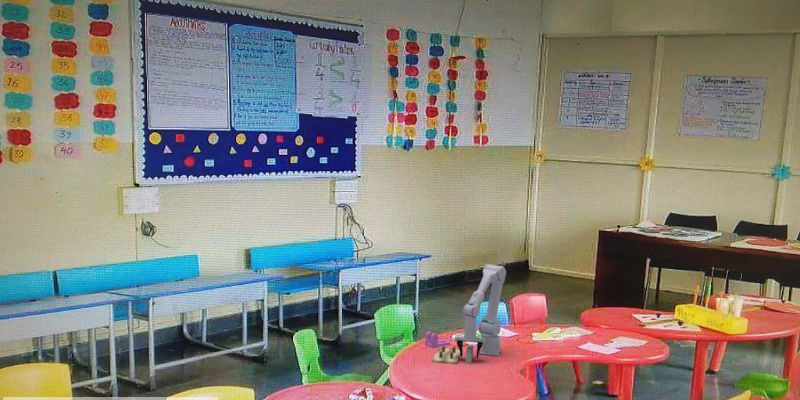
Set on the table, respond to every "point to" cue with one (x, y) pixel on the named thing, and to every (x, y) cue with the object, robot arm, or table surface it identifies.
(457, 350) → the beige board with pegs
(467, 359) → the door
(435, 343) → the bracket
